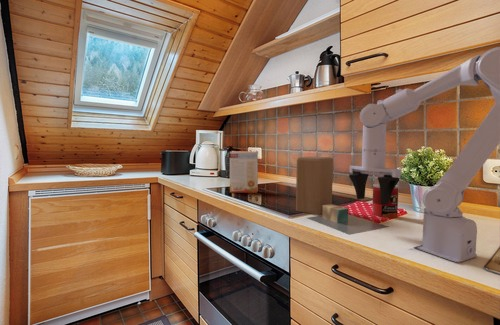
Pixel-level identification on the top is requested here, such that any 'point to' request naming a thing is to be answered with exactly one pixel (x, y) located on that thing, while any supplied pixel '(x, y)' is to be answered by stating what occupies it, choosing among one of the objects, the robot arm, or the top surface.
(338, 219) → the beech block
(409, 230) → the top surface
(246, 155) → the cracker box
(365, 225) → the slate board
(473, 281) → the top surface
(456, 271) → the top surface
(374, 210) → the canned food
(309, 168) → the block
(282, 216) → the top surface
